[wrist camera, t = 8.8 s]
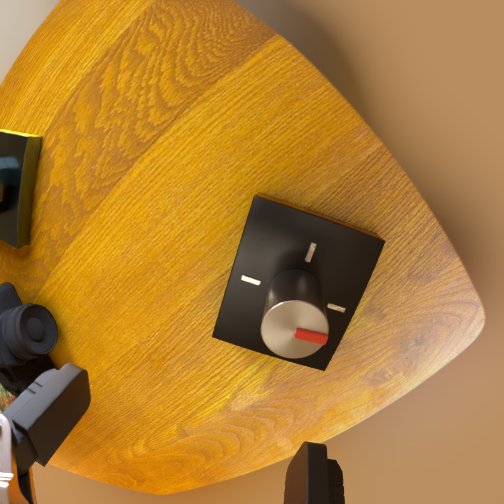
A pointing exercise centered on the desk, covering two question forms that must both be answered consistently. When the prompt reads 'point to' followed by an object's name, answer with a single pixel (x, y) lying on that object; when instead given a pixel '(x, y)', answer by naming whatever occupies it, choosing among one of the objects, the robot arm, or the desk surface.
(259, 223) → the hob panel
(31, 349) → the film camera
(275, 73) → the desk surface
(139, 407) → the desk surface
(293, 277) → the hob knob
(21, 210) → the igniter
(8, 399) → the seashell
